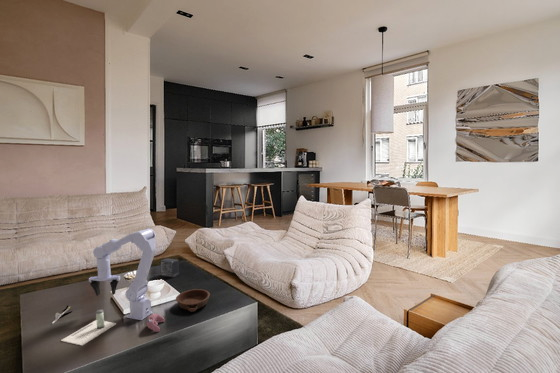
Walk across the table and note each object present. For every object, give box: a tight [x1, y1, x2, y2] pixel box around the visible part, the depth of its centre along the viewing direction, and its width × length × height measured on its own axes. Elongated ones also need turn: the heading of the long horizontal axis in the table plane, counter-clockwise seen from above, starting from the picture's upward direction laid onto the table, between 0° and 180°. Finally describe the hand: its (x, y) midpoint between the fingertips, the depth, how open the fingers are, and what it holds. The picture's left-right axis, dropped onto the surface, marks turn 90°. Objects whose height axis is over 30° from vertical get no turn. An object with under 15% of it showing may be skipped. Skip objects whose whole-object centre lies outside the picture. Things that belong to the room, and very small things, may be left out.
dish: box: [175, 288, 211, 313], centre depth 169 cm, size 18×22×5 cm
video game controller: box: [146, 312, 166, 333], centre depth 147 cm, size 10×5×7 cm, turn 6°
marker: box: [95, 309, 105, 329], centre depth 146 cm, size 3×3×8 cm
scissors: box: [51, 305, 73, 325], centre depth 161 cm, size 8×21×2 cm, turn 10°
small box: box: [159, 257, 180, 279], centre depth 211 cm, size 11×6×10 cm, turn 66°
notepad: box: [60, 319, 117, 347], centre depth 144 cm, size 12×18×1 cm, turn 162°
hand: (105, 294), depth 161 cm, fingers open, 7 cm apart
